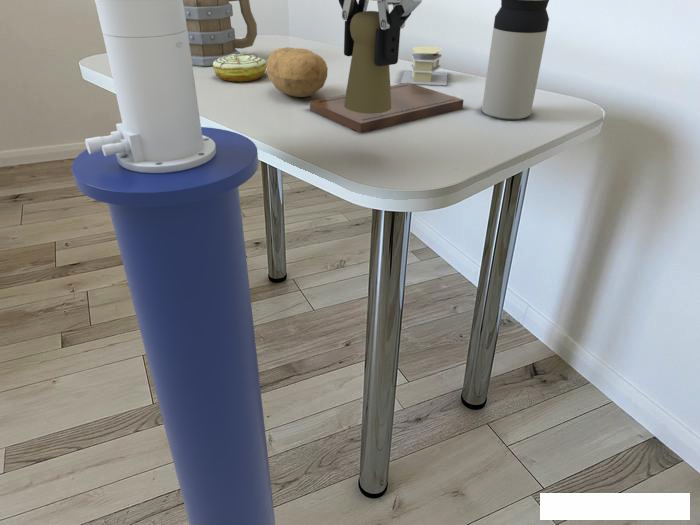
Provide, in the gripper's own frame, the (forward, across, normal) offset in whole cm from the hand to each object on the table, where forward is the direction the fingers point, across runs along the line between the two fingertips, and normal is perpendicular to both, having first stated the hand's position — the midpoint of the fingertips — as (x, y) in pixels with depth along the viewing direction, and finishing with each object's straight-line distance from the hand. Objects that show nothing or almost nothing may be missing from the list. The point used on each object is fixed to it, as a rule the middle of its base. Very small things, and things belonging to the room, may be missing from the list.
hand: (370, 58), depth 66 cm
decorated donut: (+14, -49, +7) cm, 52 cm away
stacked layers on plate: (+13, -27, +37) cm, 48 cm away
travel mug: (+12, -2, +32) cm, 34 cm away
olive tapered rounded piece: (+6, 0, 0) cm, 6 cm away
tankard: (+14, -66, +12) cm, 69 cm away
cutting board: (+13, -15, +17) cm, 26 cm away
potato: (+13, -31, +9) cm, 35 cm away
